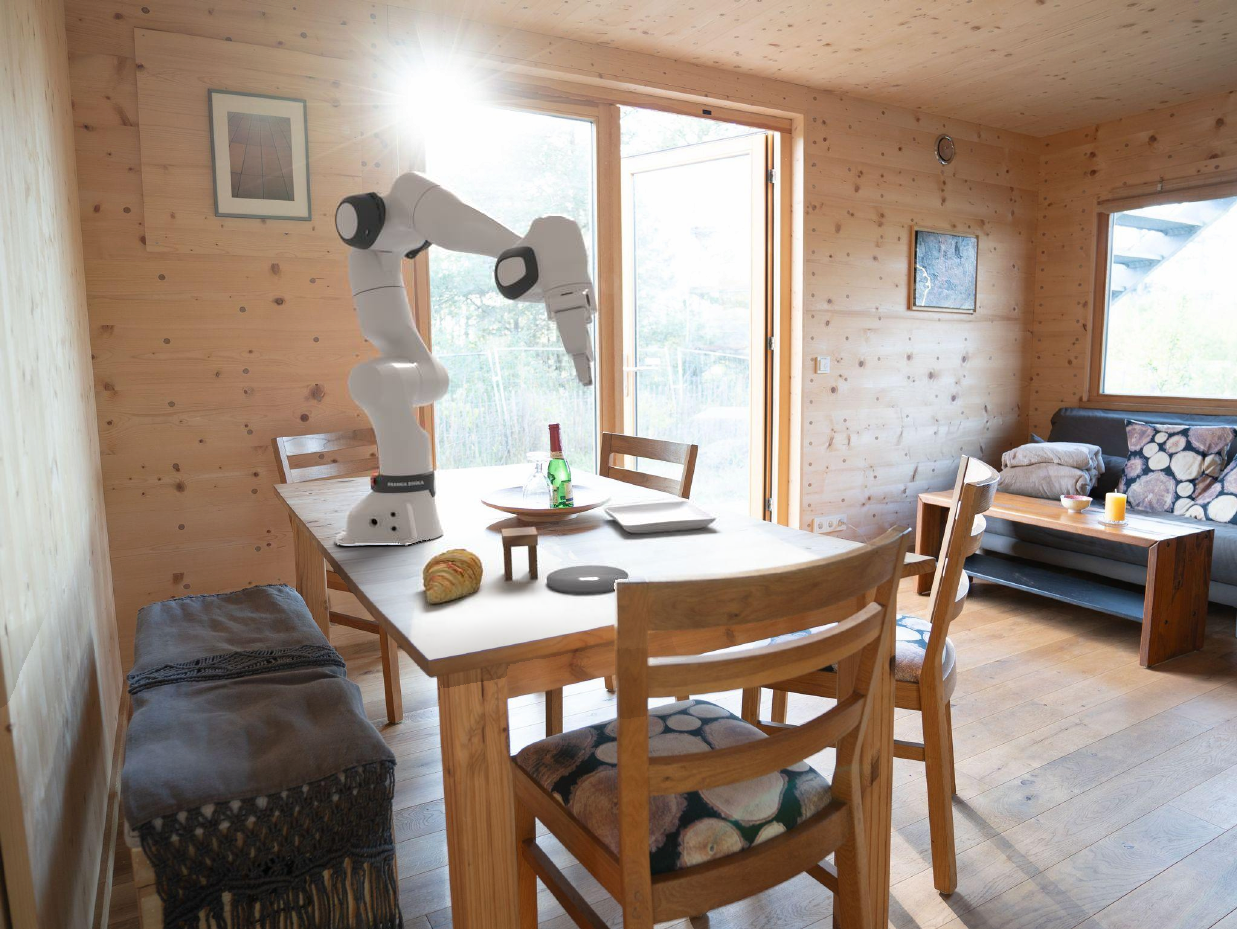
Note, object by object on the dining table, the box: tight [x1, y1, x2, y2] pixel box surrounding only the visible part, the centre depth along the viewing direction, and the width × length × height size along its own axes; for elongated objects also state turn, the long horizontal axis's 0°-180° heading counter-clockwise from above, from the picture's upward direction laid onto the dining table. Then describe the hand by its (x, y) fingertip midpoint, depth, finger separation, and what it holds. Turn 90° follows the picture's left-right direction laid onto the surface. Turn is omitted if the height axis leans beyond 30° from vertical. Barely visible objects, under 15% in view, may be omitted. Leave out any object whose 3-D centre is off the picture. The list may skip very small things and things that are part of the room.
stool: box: [500, 526, 539, 582], centre depth 143 cm, size 6×6×8 cm
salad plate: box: [603, 500, 717, 535], centre depth 183 cm, size 21×21×3 cm
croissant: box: [422, 548, 484, 604], centre depth 136 cm, size 21×10×8 cm, turn 174°
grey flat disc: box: [546, 564, 629, 595], centre depth 139 cm, size 14×14×1 cm
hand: (586, 384), depth 141 cm, fingers open, 8 cm apart
